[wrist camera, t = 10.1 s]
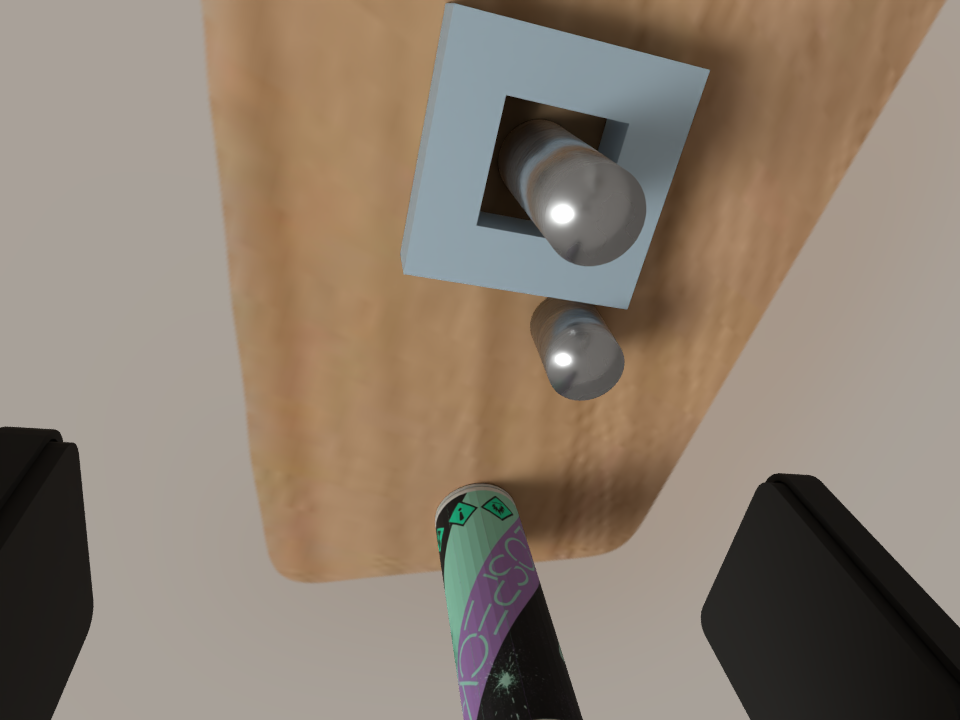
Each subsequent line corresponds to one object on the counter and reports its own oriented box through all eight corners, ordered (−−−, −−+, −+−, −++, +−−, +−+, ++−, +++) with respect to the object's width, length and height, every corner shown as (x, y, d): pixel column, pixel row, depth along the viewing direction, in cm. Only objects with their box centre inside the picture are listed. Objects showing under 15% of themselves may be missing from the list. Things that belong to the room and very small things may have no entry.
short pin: (560, 279, 38) (582, 319, 33) (612, 314, 39) (640, 357, 35) (516, 332, 39) (532, 378, 35) (568, 364, 41) (590, 412, 36)
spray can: (532, 500, 45) (642, 817, 28) (487, 557, 47) (564, 889, 29) (463, 471, 43) (535, 793, 25) (419, 531, 45) (458, 871, 27)
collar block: (445, 2, 31) (454, 3, 28) (682, 64, 33) (710, 70, 31) (400, 254, 36) (403, 273, 33) (609, 288, 39) (627, 309, 36)
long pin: (508, 111, 33) (561, 153, 24) (584, 128, 34) (661, 175, 25) (490, 191, 35) (532, 257, 26) (562, 205, 36) (626, 273, 27)
